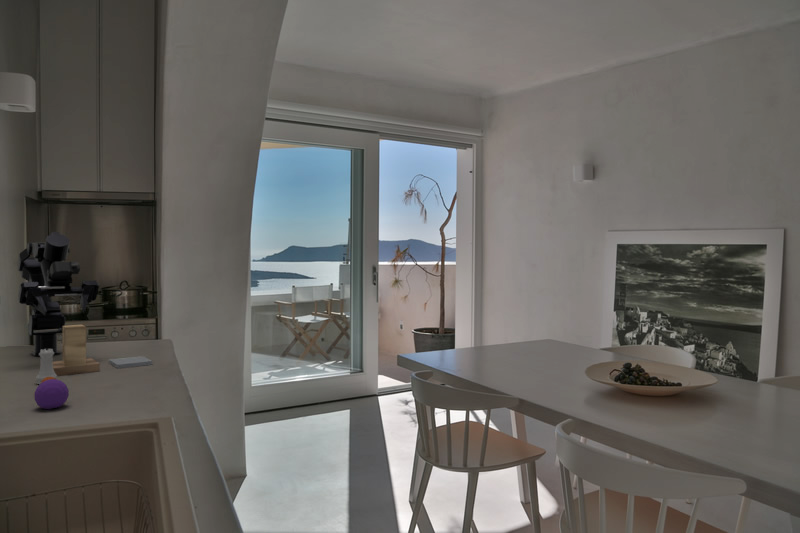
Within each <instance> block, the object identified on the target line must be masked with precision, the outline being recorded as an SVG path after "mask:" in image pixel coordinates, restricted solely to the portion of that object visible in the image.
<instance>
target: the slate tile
mask: <svg viewBox="0 0 800 533" xmlns="http://www.w3.org/2000/svg"><path fill="white" fill-rule="evenodd" d="M108 364H110V365H111V366H113V367H114V368H116V369H124V368H125V369H126V368H133V367H142V366H152V365H153V360H151V359H149V358H147V357H145V356H143V355H141V356H140V355H139V356H132V357H131V356H129V357H123V358H122V357H121V358H110V359H108Z"/></svg>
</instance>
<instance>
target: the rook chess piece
mask: <svg viewBox="0 0 800 533" xmlns="http://www.w3.org/2000/svg"><path fill="white" fill-rule="evenodd" d="M39 355H40V356H39V357H40V359H39V362H40V367H39V372H37V373H38V374H37V375H36V377H35V379H36V381H35V383H36V384H37V385H38V384H39V385H40V384H41V381H42V380H43V379H44V378H46V377H54V378H55V379H57V377H58V376H57V375H56V374H55V372H54V369H53V364H52V362H53V361H54V358H53V356H54V352H53V349H51V350H50V349H48V350H46V349H41V350H40V353H39ZM39 385H38V386H39Z"/></svg>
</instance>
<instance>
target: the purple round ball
mask: <svg viewBox="0 0 800 533" xmlns="http://www.w3.org/2000/svg"><path fill="white" fill-rule="evenodd" d="M69 390H70V389H69V388H68V386H67V384H66V383H65V382H63V381H62V380H60V379H58V378H56V379H55V378H54V377H46V378H44V379H43V380H42V381H41V384H40V385H38V386H37V387H36V389H35V391H34V401H35V403H36V405H37V406H39V407H40V408H41V409H43V408H44V409H43V410H52V409H51V408H56V409H58V408H60V407H62V406H63V405H64V404H65V403H66V402H67V400H68V398H69V396H70V395H69ZM57 407H58V408H57Z"/></svg>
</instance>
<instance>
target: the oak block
mask: <svg viewBox="0 0 800 533" xmlns="http://www.w3.org/2000/svg"><path fill="white" fill-rule="evenodd" d="M86 358H87V326H85V325H83V324H73V325H72V324H71V325H65V326H63V333H62V361H63V365H64V366H65V367H73V366H83V365H86Z"/></svg>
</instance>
